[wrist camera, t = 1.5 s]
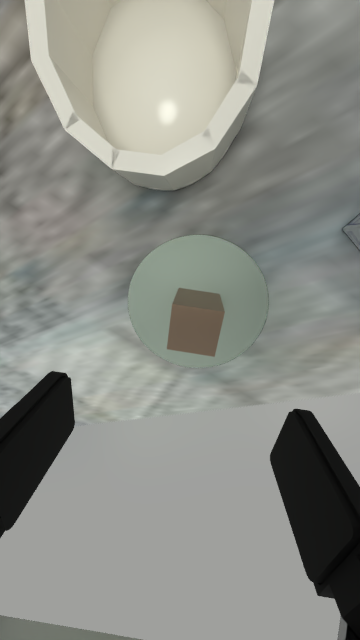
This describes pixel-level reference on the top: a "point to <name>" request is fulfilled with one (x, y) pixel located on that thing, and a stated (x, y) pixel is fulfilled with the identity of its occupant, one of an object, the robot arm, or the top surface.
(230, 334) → the lid
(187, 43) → the bowl
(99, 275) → the top surface
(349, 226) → the medicine box
